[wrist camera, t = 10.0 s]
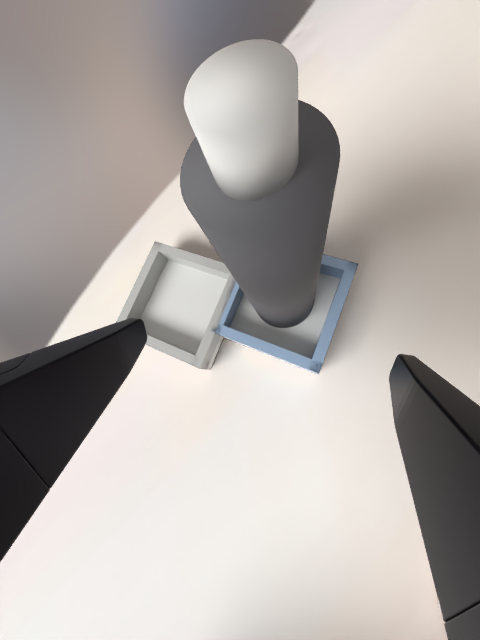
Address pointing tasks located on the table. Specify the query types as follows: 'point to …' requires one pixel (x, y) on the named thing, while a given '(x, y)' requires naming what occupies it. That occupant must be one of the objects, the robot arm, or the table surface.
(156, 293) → the divided tray
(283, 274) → the gray bottle
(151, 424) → the table surface
